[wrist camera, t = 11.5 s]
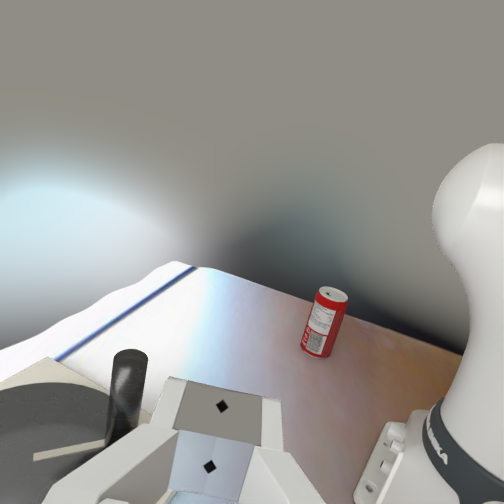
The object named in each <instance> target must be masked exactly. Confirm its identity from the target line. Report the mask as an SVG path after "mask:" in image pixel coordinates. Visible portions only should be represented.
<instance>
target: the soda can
mask: <svg viewBox="0 0 504 504" xmlns="http://www.w3.org/2000/svg"><path fill="white" fill-rule="evenodd" d="M347 299H348V297H347V295H346V294H345V293H344V292H342V291H340V290H338V289H335V288H331V287H321V288H320V290H319V292H318V293H317V294H316V296H315V300H314V303H313V306H312V309H311V312H310V315H309V318H308V322H307V325H306V328H305V331H304V334H303V337H302V341H301V347H302V349H303V351H304V352H305V353H306V354H307V355H309V356H311V357H313V358H317V359H323V358H326V357H328V356H330V354H331V351H332V348H333V345H334V342H335V340H336V337H337V334H338V331H339V328H340V325H341V323H342V320H343V317H344V314H345V311H346V308H347Z"/></svg>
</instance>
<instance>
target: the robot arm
mask: <svg viewBox="0 0 504 504" xmlns="http://www.w3.org/2000/svg"><path fill="white" fill-rule="evenodd" d="M432 227H433V232H434V236H435V239H436V241H437V243H438V246H439V248H440V249H441V251H442V253H443V254H444V255H445V257H446V258H447V259H448V261H449V262H450V263H451V265H452V266H453V268H454V270H455V271H456V273H457V275H458V276H459V279H460V280H461V283H462V285H463V288H464V291H465V293H466V297H467V301H468V306H469V312H470V334H469V339H468V343H467V346H466V349H465V352H464V355H463V358H462V361H461V363H460V366H459V368H458V371H457V373H456V375H455V378H454V380H453V382H452V384H451V386H450V389H448V390H449V391H448V393H447V394H446V395H445V396H446V397H444V398H442V399H441V400H439V401H438V403H437V404H435V405H434V406H433V407H432V408H431V410H415V411H412V413H411V414H410V416H409V418H408V420H407V423H406V424H405V423H399V422H393V421H392V422H387V423H386V425H385V426H384V428H383V430H382V432H381V434H380V436H379V438H378V441H377V443H376V445H375V447H374V449H373V452H372V454H371V456H370V458H369V460H368V462H367V465H366V467H365V469H364V471H363V473H362V476H361V478H360V480H359V482H358V484H357V487H356V489H355V491H354V494H353V498H354V501H355V503H356V504H504V144H503V143H490V144H487V145H485V146H483V147H481V148H479V149H477V150H475V151H474V152H472V153H470V154H469V155H467V156H466V157H465V158H463V159H462V160H461V161H460V162H459V163H457V164H456V165H455V167H454V168H453V169H452V170H451V171H450V172H449V173H448V174H447V176H446V177H445V178H444V180H443V182H442V184H441V185H440V187H439V189H438V192H437V194H436V196H435V199H434V203H433V208H432ZM168 489H172V490H178V491H184V492H190V493H197V494H203V495H207V496H211V497H216V498H220V499H225V500H229V501H233V502H238V504H326V503H325V502H324V500H323V499H322V498H321V496H320V495H319V493H318V492H317V490H316V489H315V488H314V486H313V485H312V483H311V482H310V481H309V479H308V478H307V476H306V475H305V473H304V472H303V471H302V469H301V468H300V466H299V465H298V464H297V462H296V461H295V459H294V458H293V456H292V455H291V454H290V453H289V452H284V440H283V422H282V404H281V401H280V399H276V398H271V397H265V396H258V395H253V394H248V393H243V392H238V391H233V390H228V389H223V388H219V387H215V386H210V385H206V384H202V383H198V382H193V381H189V380H188V381H187V380H183V379H179V378H174V377H170V376H169V377H168V379H167V380H166V382H165V385H164V387H163V390H162V393H161V395H160V398H159V400H158V403H157V405H156V408H155V411H154V413H153V416H152V418H151V421H150V423H149V424H145V423H143V424H141V425H140V426H138V427H137V428H135V429H134V430H133V431H131V432H130V433H128V434H127V435H125V436H124V437H122V438H121V439H119V440H118V441H116V442H115V443H114V444H112V445H111V446H109V447H108V448H106V449H105V450H103V451H102V452H100V453H99V454H97V455H96V456H94V457H93V458H92V459H90V460H89V461H87V462H86V463H84V464H83V465H81V466H80V467H78V468H77V469H75V470H74V471H73V472H71V473H70V474H68V475H67V476H65V477H64V478H62V479H61V480H59V481H58V482H56V483H55V484H54V485H52V487H51V489H50V490H49V492H48V494H47V495H46V497H45V499H44V500H43V502H42V504H156V503H157V502H158V501H159V500H160V498H161V497H162V496H163V495H164V494H165V493H166V492H167V490H168ZM368 490H369V491H370V492H369V491H368Z"/></svg>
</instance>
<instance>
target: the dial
mask: <svg viewBox="0 0 504 504" xmlns="http://www.w3.org/2000/svg"><path fill="white" fill-rule="evenodd" d="M147 363H148V357H147V355H146V354H145V353H144V352H142V351H139V350H136V349H126V350H122V351H120V352H118V353H117V354H116V355H115V356H114V360H113V369H112V378H111V387H110V396H109V395H107V394H105V393H104V392H101V391H99V390H96V389H94V388H90V387H87V386H83V385H78V384H72V383H61V382H45V383H33V384H26V385H20V386H16V387H11V388H7V389H3V390H0V504H42V502H43V500H44V499H45V497H46V495H47V494H48V492H49V490H50V489H51V487H52V485H54V484H55V483H56V482H58V481H59V480H61V479H62V478H64V477H65V476H67V475H68V474H70V473H71V472H73V471H74V470H75V469H77V468H78V467H80V466H81V465H83V464H84V463H86V462H87V461H89V460H90V459H92V458H93V457H94V456H96V455H97V454H99V453H100V452H102V451H103V450H105V449H106V448H108V447H109V446H111V445H112V444H114V443H115V442H116V441H118V440H119V439H121V438H122V437H124V436H125V435H127V434H128V433H130V432H131V431H133V430H134V429H135V428H137V427H138V423H139V416H140V410H141V403H142V396H143V390H144V383H145V376H146V370H147Z"/></svg>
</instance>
